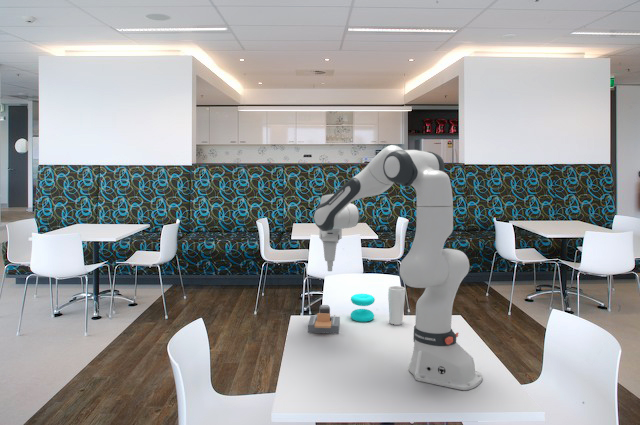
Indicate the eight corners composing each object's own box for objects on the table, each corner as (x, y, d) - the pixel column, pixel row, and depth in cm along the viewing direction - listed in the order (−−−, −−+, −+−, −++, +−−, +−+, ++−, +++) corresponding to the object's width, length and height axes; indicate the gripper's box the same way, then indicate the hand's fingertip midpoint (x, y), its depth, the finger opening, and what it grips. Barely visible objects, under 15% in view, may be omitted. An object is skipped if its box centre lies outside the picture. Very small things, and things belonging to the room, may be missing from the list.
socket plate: (339, 323, 205) (339, 315, 205) (338, 333, 193) (338, 324, 193) (310, 322, 206) (310, 314, 206) (307, 332, 194) (307, 323, 194)
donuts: (379, 295, 212) (365, 300, 204) (378, 318, 213) (365, 324, 205) (360, 291, 218) (346, 296, 211) (359, 314, 219) (345, 319, 212)
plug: (329, 325, 203) (329, 304, 202) (329, 328, 199) (329, 307, 198) (319, 325, 203) (319, 304, 202) (319, 328, 199) (319, 307, 198)
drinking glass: (405, 322, 208) (407, 287, 207) (401, 326, 202) (402, 290, 201) (390, 319, 211) (391, 285, 210) (385, 324, 205) (386, 288, 204)
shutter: (331, 323, 196) (331, 313, 196) (330, 328, 190) (330, 318, 190) (315, 322, 197) (316, 313, 196) (314, 327, 191) (314, 317, 190)
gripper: (323, 230, 208) (323, 263, 210) (321, 237, 188) (321, 273, 189) (338, 231, 208) (338, 263, 209) (338, 237, 188) (337, 274, 189)
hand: (330, 268), depth 199 cm, fingers open, 8 cm apart
